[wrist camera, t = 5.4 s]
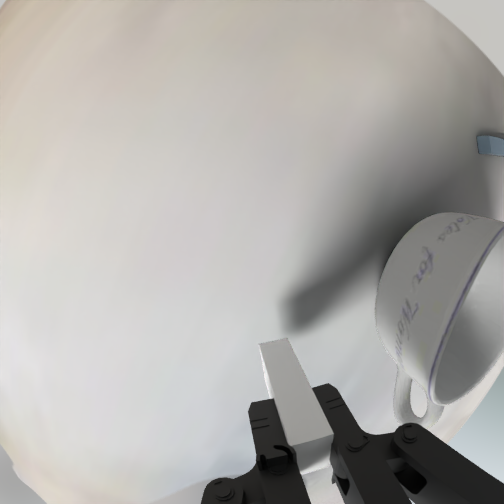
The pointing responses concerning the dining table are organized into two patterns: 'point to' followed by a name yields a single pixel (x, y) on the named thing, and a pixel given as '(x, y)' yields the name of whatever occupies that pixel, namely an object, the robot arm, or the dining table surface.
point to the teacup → (442, 309)
